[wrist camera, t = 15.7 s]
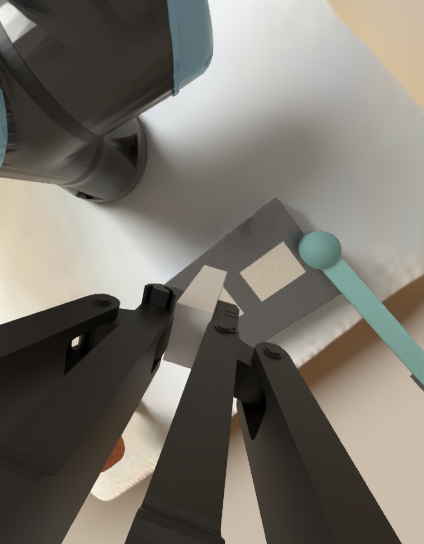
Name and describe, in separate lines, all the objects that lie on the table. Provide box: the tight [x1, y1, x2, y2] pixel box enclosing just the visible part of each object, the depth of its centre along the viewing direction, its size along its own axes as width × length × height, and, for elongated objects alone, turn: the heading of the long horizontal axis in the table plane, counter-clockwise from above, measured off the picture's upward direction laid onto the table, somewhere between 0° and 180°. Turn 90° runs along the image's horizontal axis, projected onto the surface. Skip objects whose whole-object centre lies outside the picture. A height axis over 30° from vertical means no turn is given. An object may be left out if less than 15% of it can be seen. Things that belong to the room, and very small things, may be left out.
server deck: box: [164, 198, 341, 348], centre depth 38 cm, size 15×23×8 cm, turn 128°
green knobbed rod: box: [299, 231, 424, 391], centre depth 31 cm, size 24×4×3 cm, turn 43°
